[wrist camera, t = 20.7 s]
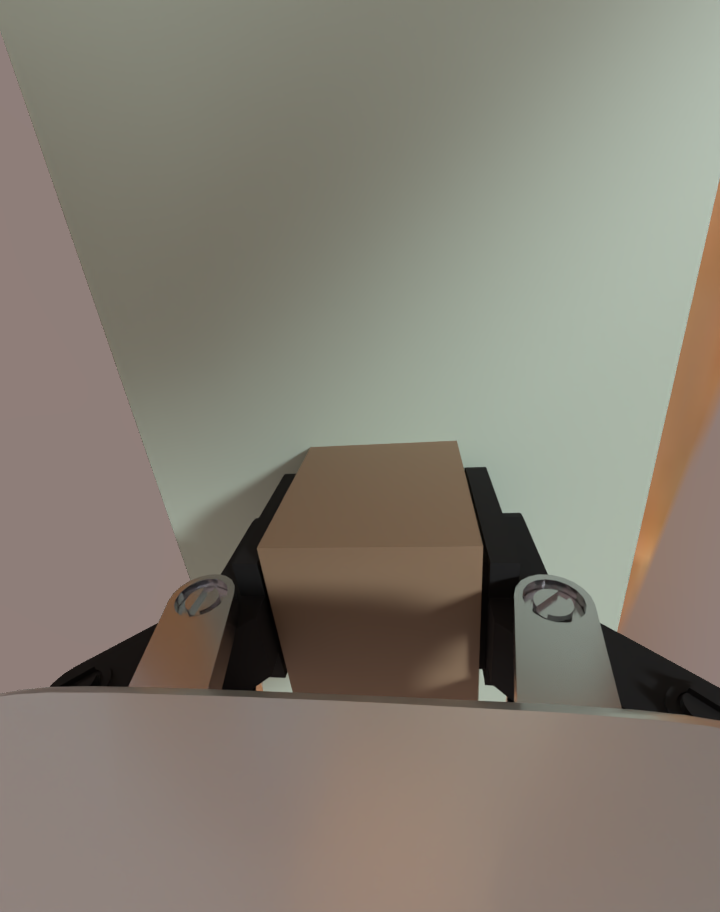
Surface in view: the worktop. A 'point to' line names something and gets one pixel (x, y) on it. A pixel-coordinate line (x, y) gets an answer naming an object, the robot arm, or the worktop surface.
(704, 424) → the worktop surface
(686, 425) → the worktop surface
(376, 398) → the lid
